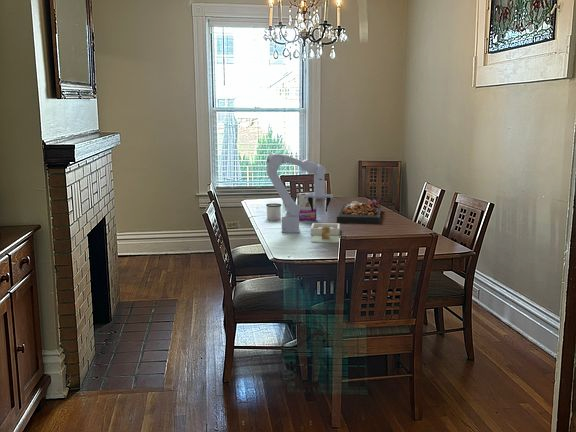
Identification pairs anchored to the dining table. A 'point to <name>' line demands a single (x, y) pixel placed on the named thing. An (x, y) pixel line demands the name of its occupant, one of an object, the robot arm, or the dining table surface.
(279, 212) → the mug
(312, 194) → the robot arm
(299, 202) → the candy bar box
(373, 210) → the food platter
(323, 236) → the wood block
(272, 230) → the dining table surface
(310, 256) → the dining table surface
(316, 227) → the white square tray
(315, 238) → the pad
